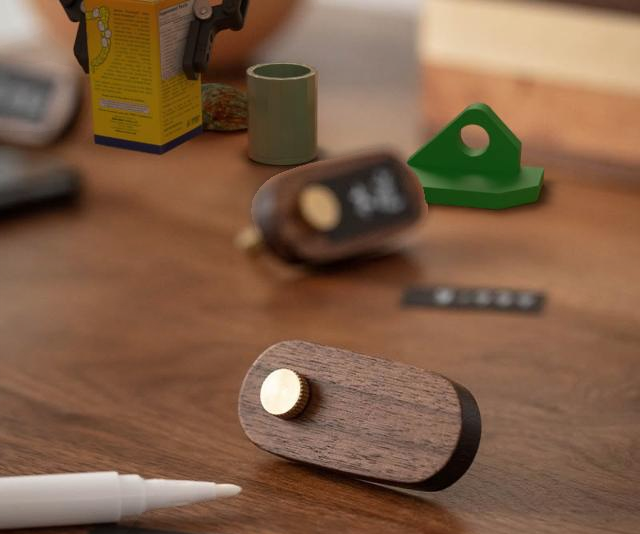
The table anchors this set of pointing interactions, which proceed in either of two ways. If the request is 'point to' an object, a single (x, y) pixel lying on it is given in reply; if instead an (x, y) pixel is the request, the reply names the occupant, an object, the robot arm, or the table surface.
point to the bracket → (476, 165)
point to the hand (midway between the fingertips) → (138, 71)
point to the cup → (282, 113)
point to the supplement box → (141, 74)
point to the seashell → (223, 107)
